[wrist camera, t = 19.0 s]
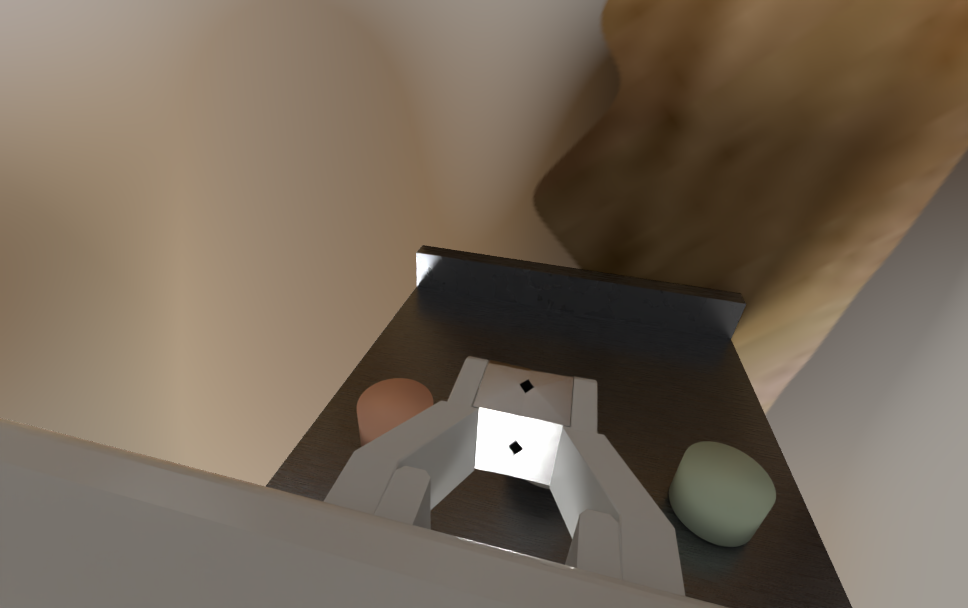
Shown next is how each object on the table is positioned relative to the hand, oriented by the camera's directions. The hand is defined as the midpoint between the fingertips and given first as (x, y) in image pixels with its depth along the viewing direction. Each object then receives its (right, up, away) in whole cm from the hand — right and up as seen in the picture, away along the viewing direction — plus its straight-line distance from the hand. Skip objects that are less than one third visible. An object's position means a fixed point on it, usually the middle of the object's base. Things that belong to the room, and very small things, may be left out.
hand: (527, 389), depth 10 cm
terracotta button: (-6, -4, +20) cm, 22 cm away
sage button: (+13, -8, +17) cm, 23 cm away
